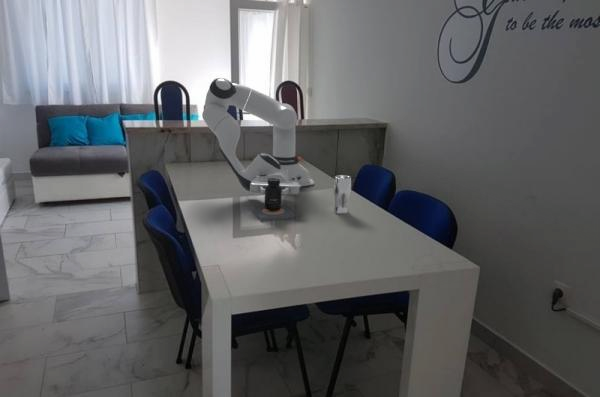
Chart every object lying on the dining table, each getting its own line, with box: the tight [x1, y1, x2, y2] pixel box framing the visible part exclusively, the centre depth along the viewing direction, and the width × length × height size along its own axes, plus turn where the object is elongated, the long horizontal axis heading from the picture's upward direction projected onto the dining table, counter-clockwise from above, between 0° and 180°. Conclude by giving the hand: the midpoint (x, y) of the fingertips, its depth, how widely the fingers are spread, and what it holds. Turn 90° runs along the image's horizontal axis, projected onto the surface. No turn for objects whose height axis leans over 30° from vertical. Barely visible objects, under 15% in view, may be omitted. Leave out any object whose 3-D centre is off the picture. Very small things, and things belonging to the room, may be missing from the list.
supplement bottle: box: [263, 178, 283, 211], centre depth 187 cm, size 7×7×12 cm
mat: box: [251, 204, 296, 222], centre depth 189 cm, size 14×13×2 cm
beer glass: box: [333, 174, 352, 215], centre depth 193 cm, size 7×7×15 cm
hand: (273, 192), depth 186 cm, fingers closed on supplement bottle, 6 cm apart
